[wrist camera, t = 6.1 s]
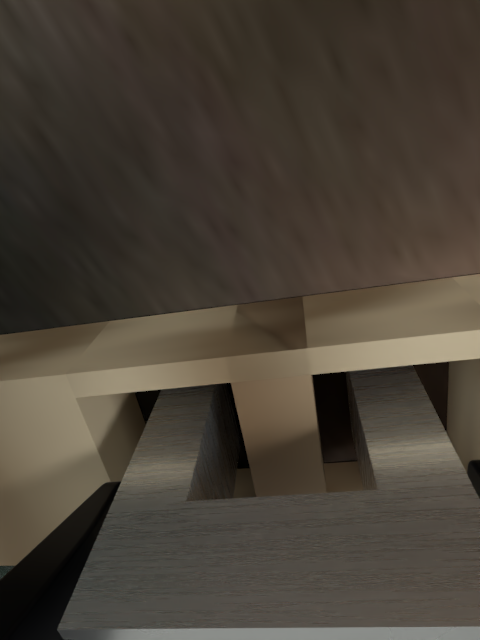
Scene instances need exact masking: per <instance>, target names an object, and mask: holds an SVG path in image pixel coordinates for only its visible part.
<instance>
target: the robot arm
mask: <svg viewBox="0 0 480 640" xmlns="http://www.w3.org/2000/svg"><path fill="white" fill-rule="evenodd" d="M467 475H468V477H469V479H470V481H471V483H472V485H473V487H474V489H475V491H476V493H477V495H478V497H479V499H480V460H471V461H470V462H469V463H468V469H467ZM120 483H121V482H120V481H118V482H106V483H104V484H103V485H101V486H100V487H99V488H98V489H97V490H96V491H95V492H94V493H93V494H92V495H91V496H90V497H88V498H87V499H86V500H85V501H84V502H83V503H82V504H81V505H80V506H79V507H78V508H77V509H76V510H75V511H73V512H72V513H71V514H70V515H69V516H68V517H67V518H66V519H65V520H64V521H63V522H62V523H61V524H60V525H58V526H57V527H56V528H55V529H54V530H53V531H52V532H51V533H50V534H49V535H48V536H47V537H46V538H45V539H43V540H42V541H41V542H40V543H39V544H38V545H37V546H36V547H35V548H34V549H33V550H32V551H31V552H30V553H28V554H27V555H26V556H25V557H24V558H23V559H22V560H21V561H20V562H19V563H18V564H17V565H16V566H15V567H13V568H12V569H11V570H10V571H9V572H8V573H7V574H6V575H5V576H4V577H3V578H2V579H1V580H0V640H64V639H63V638H62V636H61V635H60V633H59V632H58V630H57V628H58V626H59V624H60V621H61V619H62V617H63V614H64V612H65V610H66V608H67V605H68V603H69V601H70V598H71V596H72V594H73V591H74V589H75V587H76V585H77V582H78V580H79V578H80V575H81V573H82V571H83V568H84V566H85V564H86V562H87V559H88V557H89V555H90V552H91V550H92V548H93V546H94V543H95V541H96V539H97V536H98V534H99V532H100V529H101V527H102V525H103V523H104V520H105V518H106V516H107V513H108V511H109V509H110V506H111V504H112V502H113V500H114V497H115V495H116V493H117V490H118V488H119V486H120Z"/></svg>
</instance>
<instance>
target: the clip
mask: <svg viewBox="0 0 480 640" xmlns="http://www.w3.org/2000/svg"><path fill="white" fill-rule="evenodd" d="M346 382H347V392H348V402H349V412H350V422H351V432H352V437H353V442H354V446H355V451H356V456H357V461H358V466H359V471H360V475H361V480H362V485H363V490H364V491H347V492H331V493H314V494H297V495H280V496H264V497H247V498H233V497H234V490H235V482H236V474H237V467H238V459H239V451H240V443H241V441H240V436H239V432H238V428H237V424H236V420H235V416H234V412H233V408H232V404H231V400H230V396H229V392H228V388H227V384H226V383H222V384H212V385H202V386H191V387H181V388H171V389H161V392H160V394H159V396H158V398H157V401H156V403H155V405H154V408H153V410H152V412H151V415H150V417H149V419H148V421H147V424H146V426H145V428H144V431H143V433H142V435H141V438H140V440H139V442H138V444H137V447H136V449H135V451H134V454H133V456H132V458H131V460H130V463H129V465H128V467H127V470H126V472H125V474H124V477H123V479H122V481H121V483H120V486H119V488H118V490H117V493H116V495H115V497H114V500H113V502H112V504H111V506H110V509H109V511H108V513H107V516H106V518H105V520H104V523H103V525H102V527H101V529H100V532H99V534H98V536H97V539H96V541H95V543H94V546H93V548H92V550H91V552H90V555H89V557H88V559H87V562H86V564H85V566H84V568H83V571H82V573H81V575H80V578H79V580H78V582H77V585H76V587H75V589H74V591H73V594H72V596H71V598H70V601H69V603H68V605H67V608H66V610H65V612H64V614H63V617H62V619H61V621H60V624H59V626H58V628H57V630H58V632H59V633H60V635H61V636H62V638H63V639H64V640H480V499H479V497H478V495H477V493H476V491H475V489H474V487H473V485H472V483H471V481H470V479H469V477H468V475H467V473H466V471H465V469H464V467H463V465H462V463H461V461H460V459H459V457H458V455H457V453H456V451H455V449H454V447H453V445H452V443H451V441H450V439H449V437H448V435H447V433H446V431H445V429H444V427H443V425H442V423H441V421H440V419H439V417H438V415H437V413H436V411H435V409H434V407H433V405H432V403H431V401H430V399H429V397H428V395H427V393H426V391H425V389H424V387H423V385H422V383H421V381H420V379H419V377H418V375H417V373H416V371H415V369H414V367H413V365H407V366H397V367H387V368H376V369H366V370H356V371H346Z"/></svg>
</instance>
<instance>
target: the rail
mask: <svg viewBox="0 0 480 640" xmlns="http://www.w3.org/2000/svg"><path fill="white" fill-rule="evenodd" d="M448 361H449V374H448V402H447V429H446V433H447V435H448V437H449V439H450V441H451V443H452V445H453V447H454V449H455V451H456V453H457V455H458V457H459V459H460V461H461V463H462V465H463V467H464V469H465V471H466V473H467V469H468V463H469V462H470V461H471V460H480V274H475V275H467V276H459V277H451V278H443V279H435V280H428V281H420V282H412V283H404V284H396V285H388V286H380V287H373V288H365V289H357V290H349V291H341V292H333V293H326V294H318V295H310V296H302V297H294V298H286V299H279V300H271V301H263V302H255V303H247V304H239V305H231V306H224V307H216V308H208V309H200V310H192V311H184V312H177V313H169V314H161V315H153V316H145V317H137V318H130V319H122V320H114V321H106V322H98V323H90V324H82V325H75V326H67V327H59V328H51V329H43V330H35V331H28V332H20V333H12V334H4V335H0V566H11V565H17V564H18V563H19V562H20V561H21V560H22V559H23V558H24V557H25V556H26V555H27V554H28V553H30V552H31V551H32V550H33V549H34V548H35V547H36V546H37V545H38V544H39V543H40V542H41V541H42V540H43V539H45V538H46V537H47V536H48V535H49V534H50V533H51V532H52V531H53V530H54V529H55V528H56V527H57V526H58V525H60V524H61V523H62V522H63V521H64V520H65V519H66V518H67V517H68V516H69V515H70V514H71V513H72V512H73V511H75V510H76V509H77V508H78V507H79V506H80V505H81V504H82V503H83V502H84V501H85V500H86V499H87V498H88V497H90V496H91V495H92V494H93V493H94V492H95V491H96V490H97V489H98V488H99V487H100V486H101V485H103V484H104V483H106V482H118V481H120V482H121V481H122V479H123V477H124V474H125V472H126V470H127V467H128V465H129V463H130V460H131V458H132V456H133V454H134V451H135V449H136V447H137V444H138V442H139V440H140V438H141V435H142V433H143V431H144V428H145V426H146V424H145V421H144V418H143V415H142V412H141V409H140V407H139V404H138V401H137V398H136V395H135V392H140V391H150V390H160V389H171V388H181V387H191V386H202V385H212V384H222V383H231V386H232V391H233V395H234V399H235V404H236V408H237V413H238V417H239V422H240V426H241V430H242V435H243V439H244V444H245V448H246V453H247V457H248V462H249V466H250V468H245V469H237V474H236V482H235V490H234V497H233V498H247V497H264V496H280V495H297V494H314V493H331V492H347V491H364V490H363V485H362V480H361V475H360V471H359V466H358V461H356V462H340V463H323V455H322V447H321V439H320V431H319V423H318V415H317V407H316V399H315V391H314V383H313V375H315V374H325V373H335V372H346V371H356V370H366V369H376V368H387V367H397V366H407V365H418V364H428V363H438V362H448Z"/></svg>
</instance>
